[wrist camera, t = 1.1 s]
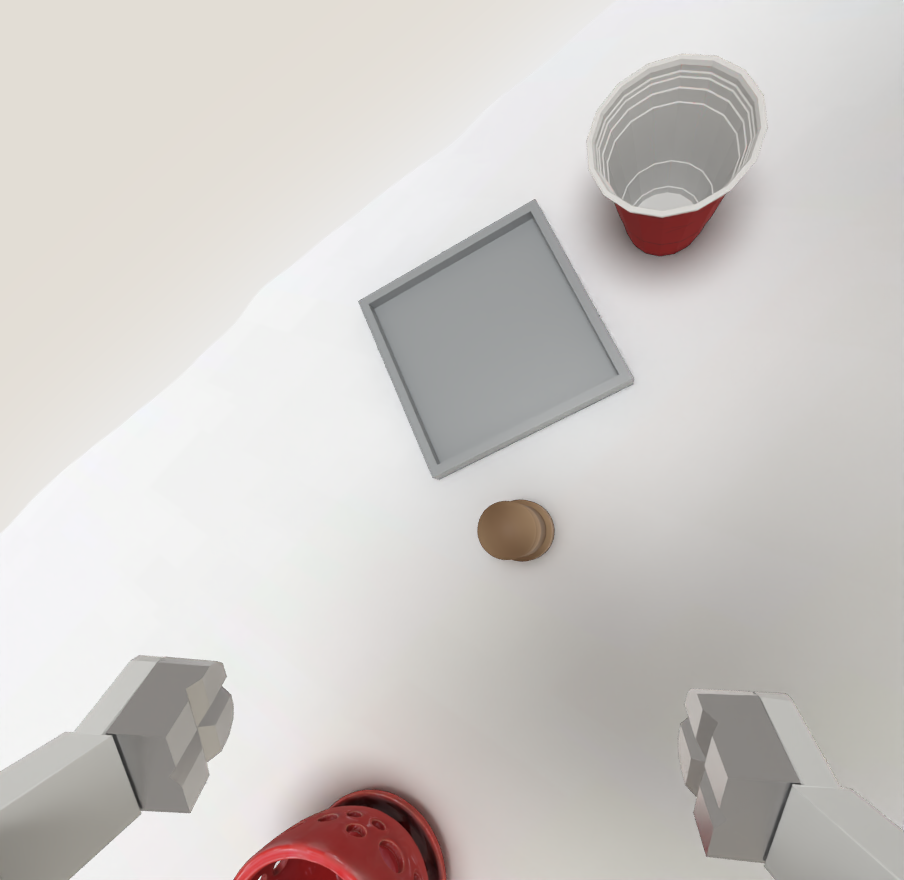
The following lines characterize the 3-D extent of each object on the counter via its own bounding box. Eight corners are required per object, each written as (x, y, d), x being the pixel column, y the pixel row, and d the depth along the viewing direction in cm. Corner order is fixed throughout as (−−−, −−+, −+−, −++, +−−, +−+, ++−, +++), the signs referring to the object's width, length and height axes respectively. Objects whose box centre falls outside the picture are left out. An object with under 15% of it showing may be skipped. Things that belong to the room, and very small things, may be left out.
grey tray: (538, 209, 51) (535, 198, 49) (633, 384, 46) (633, 378, 44) (366, 308, 54) (358, 301, 53) (439, 479, 50) (432, 477, 48)
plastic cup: (568, 225, 50) (551, 135, 38) (671, 140, 48) (686, 20, 37) (650, 314, 47) (658, 244, 35) (764, 226, 45) (810, 124, 34)
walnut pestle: (538, 491, 47) (522, 483, 40) (564, 545, 46) (552, 548, 38) (487, 515, 48) (461, 512, 40) (510, 569, 47) (488, 576, 39)
